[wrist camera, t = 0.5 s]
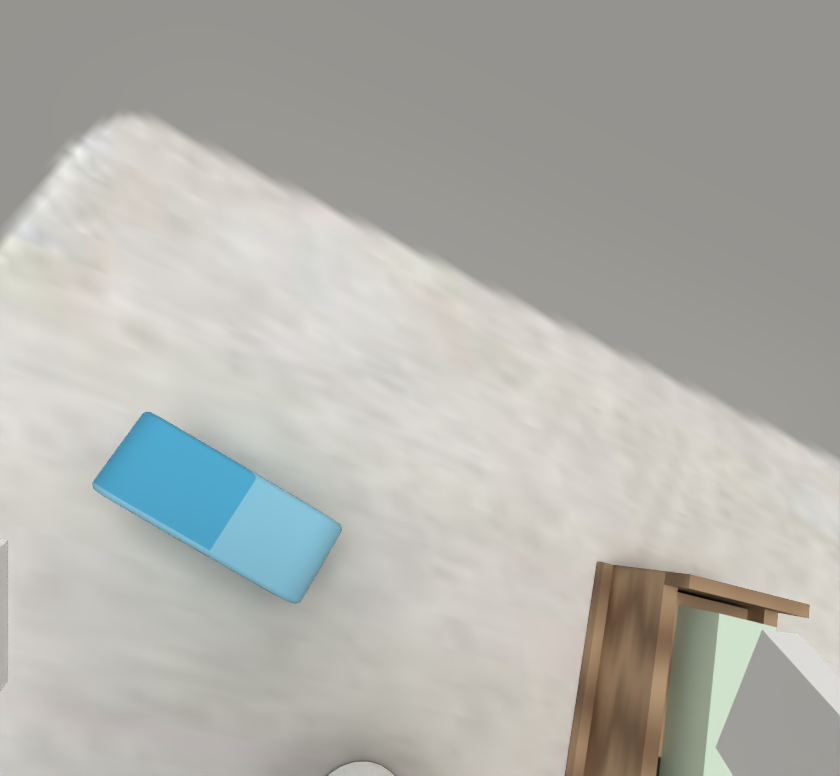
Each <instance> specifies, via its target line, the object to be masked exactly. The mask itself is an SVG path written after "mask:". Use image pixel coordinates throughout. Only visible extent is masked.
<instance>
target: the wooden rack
mask: <svg viewBox="0 0 840 776" xmlns="http://www.w3.org/2000/svg"><path fill="white" fill-rule="evenodd" d="M678 605H681V606H686V607H690V608H695V609H700V610H705V611H710V612H715V613H720V614H724V615H728V616H732V617H736V618H740V619H744V620H748V621H753V622H757V623H761V624H765V625H769V626H773V627H777V618H778V613H783V614H788V615H794V616H800V617H805V618H809V607H810V605H808V604H804V603H800V602H797V601H793V600H789V599H785V598H781V597H777V596H773V595H769V594H765V593H761V592H757V591H753V590H749V589H745V588H741V587H737V586H733V585H729V584H726V583H722V582H718V581H714V580H710V579H706V578H702V577H698V576H694V575H690V574H682V573H674V572H665V571H657V570H649V569H641V568H633V567H625V566H617V565H611V564H607V563H602V562H597V567H596V574H595V580H594V587H593V594H592V600H591V607H590V614H589V620H588V627H587V633H586V640H585V647H584V653H583V660H582V667H581V673H580V680H579V687H578V693H577V700H576V706H575V713H574V720H573V726H572V733H571V740H570V746H569V753H568V760H567V766H566V773H565V776H659V770H660V761H661V753H662V744H663V735H664V727H665V718H666V709H667V701H668V692H669V683H670V675H671V666H672V657H673V649H674V640H675V631H676V623H677V614H678Z"/></svg>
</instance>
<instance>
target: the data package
mask: <svg viewBox="0 0 840 776" xmlns="http://www.w3.org/2000/svg"><path fill="white" fill-rule="evenodd" d="M92 485H93V488H94V489H95V490H96V491H97V492H98V493H100V494H101V495H103V496H104V497H106V498H108V499H109V500H111V501H113V502H114V503H116V504H118V505H120V506H121V507H123V508H125V509H127V510H128V511H130V512H132V513H133V514H135V515H137V516H139V517H140V518H142V519H144V520H146V521H147V522H149V523H151V524H153V525H154V526H156V527H158V528H160V529H161V530H163V531H165V532H167V533H168V534H170V535H172V536H173V537H175V538H177V539H179V540H180V541H182V542H184V543H186V544H187V545H189V546H191V547H193V548H194V549H196V550H198V551H200V552H201V553H203V554H205V555H207V556H208V557H210V558H212V559H214V560H215V561H217V562H219V563H220V564H222V565H224V566H226V567H227V568H229V569H231V570H233V571H234V572H236V573H238V574H240V575H241V576H243V577H245V578H247V579H248V580H250V581H252V582H254V583H255V584H257V585H259V586H261V587H262V588H264V589H266V590H267V591H269V592H271V593H273V594H275V595H276V596H278V597H280V598H282V599H284V600H286V601H289V602H291V603H299V602H300V601H301V600H302V598H303V596H304V594H305V593H306V591H307V589H308V588H309V586H310V584H311V582H312V581H313V579H314V577H315V576H316V574H317V572H318V570H319V569H320V567H321V565H322V564H323V562H324V560H325V558H326V557H327V555H328V553H329V552H330V550H331V548H332V546H333V545H334V543H335V541H336V540H337V538H338V536H339V534H340V533H341V531H342V527H341V525H340V524H339V523H337V522H336V521H334V520H333V519H331V518H330V517H328V516H326V515H325V514H323V513H321V512H320V511H318V510H316V509H315V508H313V507H311V506H310V505H308V504H306V503H305V502H303V501H301V500H299V499H298V498H296V497H294V496H293V495H291V494H289V493H288V492H286V491H284V490H283V489H281V488H279V487H277V486H276V485H274V484H272V483H271V482H269V481H267V480H266V479H264V478H262V477H260V476H259V475H257V474H255V473H254V472H252V471H250V470H249V469H247V468H245V467H244V466H242V465H240V464H238V463H237V462H235V461H233V460H232V459H230V458H228V457H227V456H225V455H223V454H222V453H220V452H218V451H216V450H215V449H213V448H211V447H210V446H208V445H206V444H205V443H203V442H201V441H199V440H198V439H196V438H194V437H193V436H191V435H189V434H188V433H186V432H184V431H183V430H181V429H179V428H177V427H176V426H174V425H172V424H171V423H169V422H167V421H166V420H164V419H162V418H160V417H158V416H157V415H155V414H153V413H150V412H145V413H143V414H142V415H141V417H140V418H139V420H138V421H137V422H136V424H135V425H134V426H133V428H132V429H131V431H130V432H129V433H128V435H127V436H126V437H125V439H124V440H123V441H122V443H121V444H120V446H119V447H118V448H117V450H116V451H115V452H114V454H113V455H112V457H111V458H110V459H109V461H108V462H107V463H106V465H105V466H104V467H103V469H102V470H101V472H100V473H99V474H98V476H97V477H96V478H95V480H94V481H93V484H92Z"/></svg>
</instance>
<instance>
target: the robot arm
mask: <svg viewBox="0 0 840 776" xmlns="http://www.w3.org/2000/svg"><path fill="white" fill-rule="evenodd" d="M7 682H8V540H4V539H0V691H1V689H2V688H3V687H4V685H5V684H6V683H7ZM716 749H717V751H718V752H719V754H720V755H721V757H722V759H723V760H724V762H725V763H726V765H727V766H728V768H729V770H730V771H731V773H732V774H733V776H840V674H839V673H838V672H837V671H836V670H835V669H834V668H833V667H832V666H831V665H830V664H829V663H828V662H827V661H826V660H825V659H824V658H823V657H822V656H821V655H820V654H819V653H818V652H817V651H816V650H815V649H814V648H813V647H812V646H811V645H810V644H809V643H808V642H807V641H806V640H805V639H804V638H803V637H802V636H801V635H800V634H795V633H787V632H779V631H770V630H762V631H761V634H760V636H759V639H758V641H757V644H756V646H755V649H754V651H753V654H752V656H751V659H750V661H749V664H748V666H747V669H746V671H745V674H744V676H743V679H742V682H741V684H740V687H739V689H738V692H737V694H736V697H735V699H734V702H733V704H732V707H731V709H730V712H729V714H728V717H727V719H726V722H725V725H724V727H723V730H722V732H721V735H720V737H719V740H718V742H717V745H716Z"/></svg>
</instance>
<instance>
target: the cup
mask: <svg viewBox="0 0 840 776" xmlns="http://www.w3.org/2000/svg"><path fill="white" fill-rule="evenodd" d="M328 776H394V775H393V774H392V773H391V772H390V771H389V770H387V769H386V768H384V767H383V766H381V765H378V764H375V763H371V762H353V763H350V764H346V765H343V766H341V767H339V768H338V769H336V770H335V771H333V772H332V773H330V774H329V775H328Z"/></svg>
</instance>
